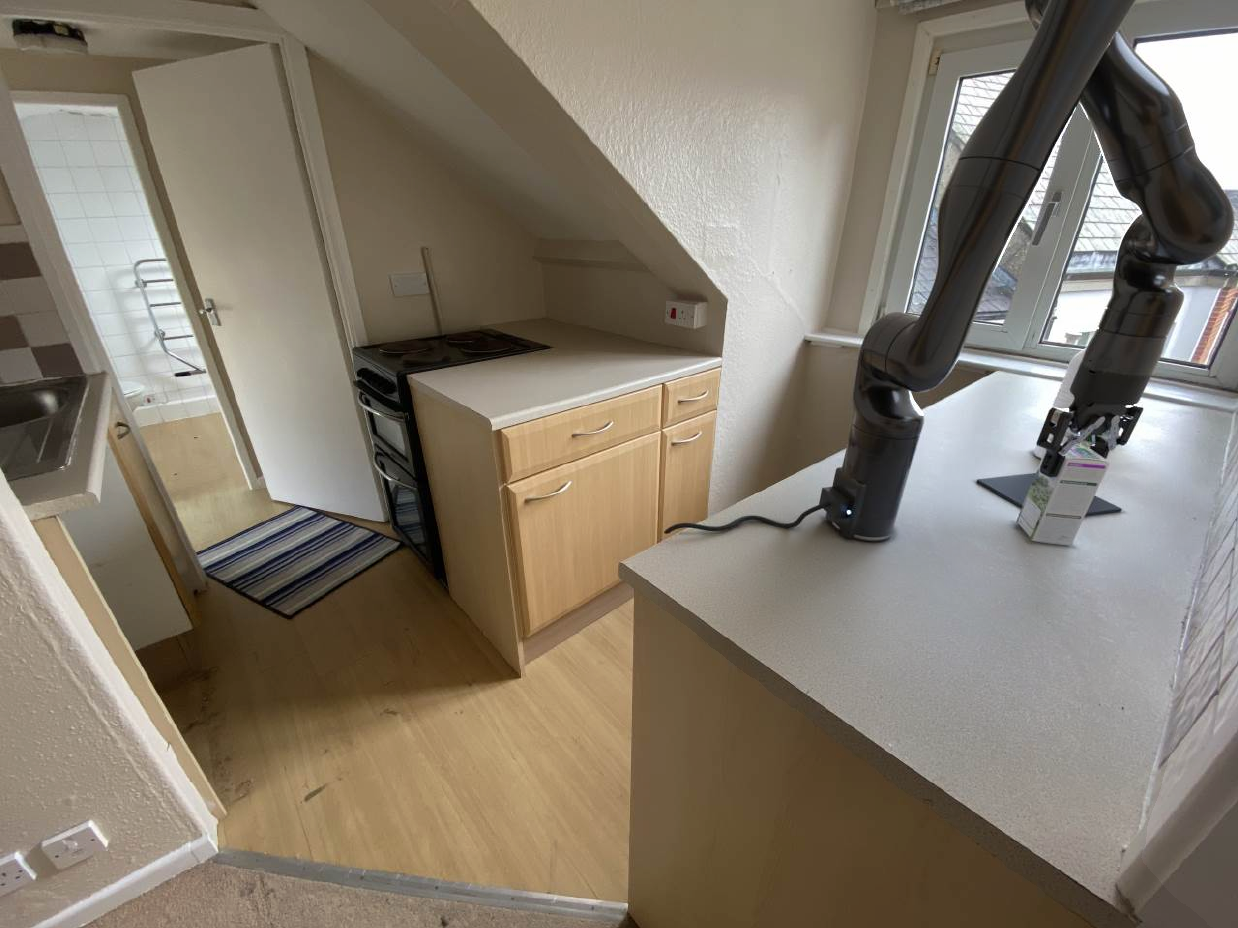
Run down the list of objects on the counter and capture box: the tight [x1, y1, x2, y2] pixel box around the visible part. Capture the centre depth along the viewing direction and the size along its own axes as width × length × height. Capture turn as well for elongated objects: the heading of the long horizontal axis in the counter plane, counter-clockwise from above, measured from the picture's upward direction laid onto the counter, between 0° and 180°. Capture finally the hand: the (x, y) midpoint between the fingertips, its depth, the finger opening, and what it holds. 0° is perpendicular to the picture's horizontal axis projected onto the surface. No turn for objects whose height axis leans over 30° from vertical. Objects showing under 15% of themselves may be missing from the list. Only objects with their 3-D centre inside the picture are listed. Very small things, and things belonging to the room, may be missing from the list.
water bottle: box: [1033, 331, 1087, 460], centre depth 105 cm, size 9×6×25 cm
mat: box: [976, 472, 1123, 517], centre depth 95 cm, size 16×14×1 cm
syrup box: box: [1015, 444, 1111, 547], centre depth 80 cm, size 6×6×14 cm
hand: (1068, 472), depth 79 cm, fingers closed on syrup box, 7 cm apart
